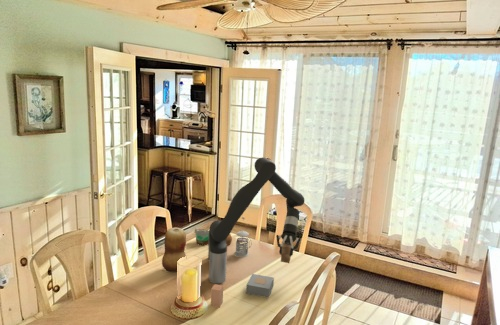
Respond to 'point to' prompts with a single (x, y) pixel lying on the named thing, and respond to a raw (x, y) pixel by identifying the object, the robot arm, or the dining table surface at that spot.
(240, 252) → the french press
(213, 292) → the terracotta block
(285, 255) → the walnut block
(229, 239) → the bread roll
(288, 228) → the robot arm
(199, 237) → the food container
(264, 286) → the slate plinth
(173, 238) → the butternut squash
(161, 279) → the dining table surface
